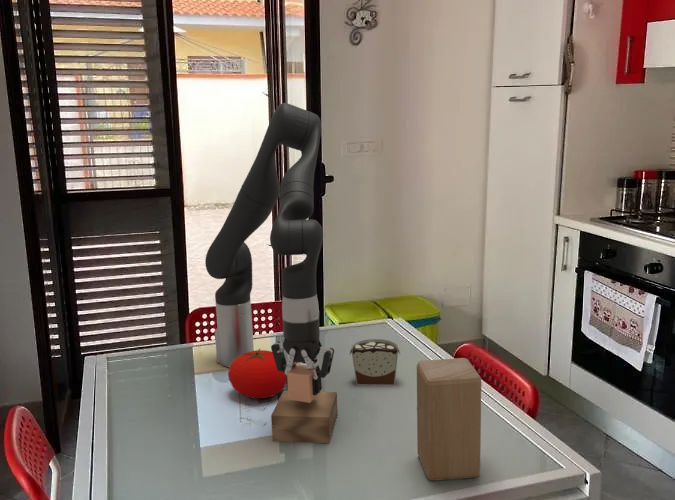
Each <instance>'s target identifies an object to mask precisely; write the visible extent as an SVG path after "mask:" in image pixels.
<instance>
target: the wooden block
mask: <svg viewBox="0 0 675 500" xmlns="http://www.w3.org/2000/svg"><path fill="white" fill-rule="evenodd" d="M416 417H417V418H416V419H417V420H416V421H417V422H416V425H417V427H416V428H417V430H416V431H417V433H416V434H417V435H416V436H417V438H416V439H417V442H416V444H417V446H416V447H417V450H416V451H417V455H418V457H419V461H420V462H421V465H422V468H423V471H424V473H425V475H426V477H427V479H428V480H429V481H432V482H433V481H446V480H457V479H458V480H459V479H469V478H477V477H480V474H481V448H482V447H481V443H482V441H481V440H482V439H481V436H482V435H481V434H482V431H481V430H482V427H481V426H482V425H481V423H482V422H481V421H482V377H481V375H479V373H478V371H477V370H476V368H475V367H474V366H473V364H472V363H471V362H470V360H469V359H468V358H465V357H457V358H456V357H455V358H441V359H429V360H425V359H424V360H419V361H417V365H416Z"/></svg>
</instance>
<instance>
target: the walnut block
mask: <svg viewBox="0 0 675 500" xmlns="http://www.w3.org/2000/svg"><path fill="white" fill-rule="evenodd" d="M338 412H339V411H338V392H337V391H320V393H319V394H318V395H317V396H316V397H315V398H314V399H313V400H312V401H311V402H310V403H308V402H302V401H295V400H289V398H288V390H283V391H282V393H281V395H280V396H279V399H278V400H277V403H276V405H275V407H274V409H273V410H272V413H271V415H270V421H271V432H272V433H271V437H272V442H283V443H284V442H287V443H290V442H291V443H312V442H315V443H320V444H330V443H331V441H332V438H331V437H333V434H334V431H333V430H335V427H334V426H336V424H335V423H337V420H338V417H337V416H338V415H339V413H338ZM336 419H337V420H336ZM332 433H333V434H332Z"/></svg>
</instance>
